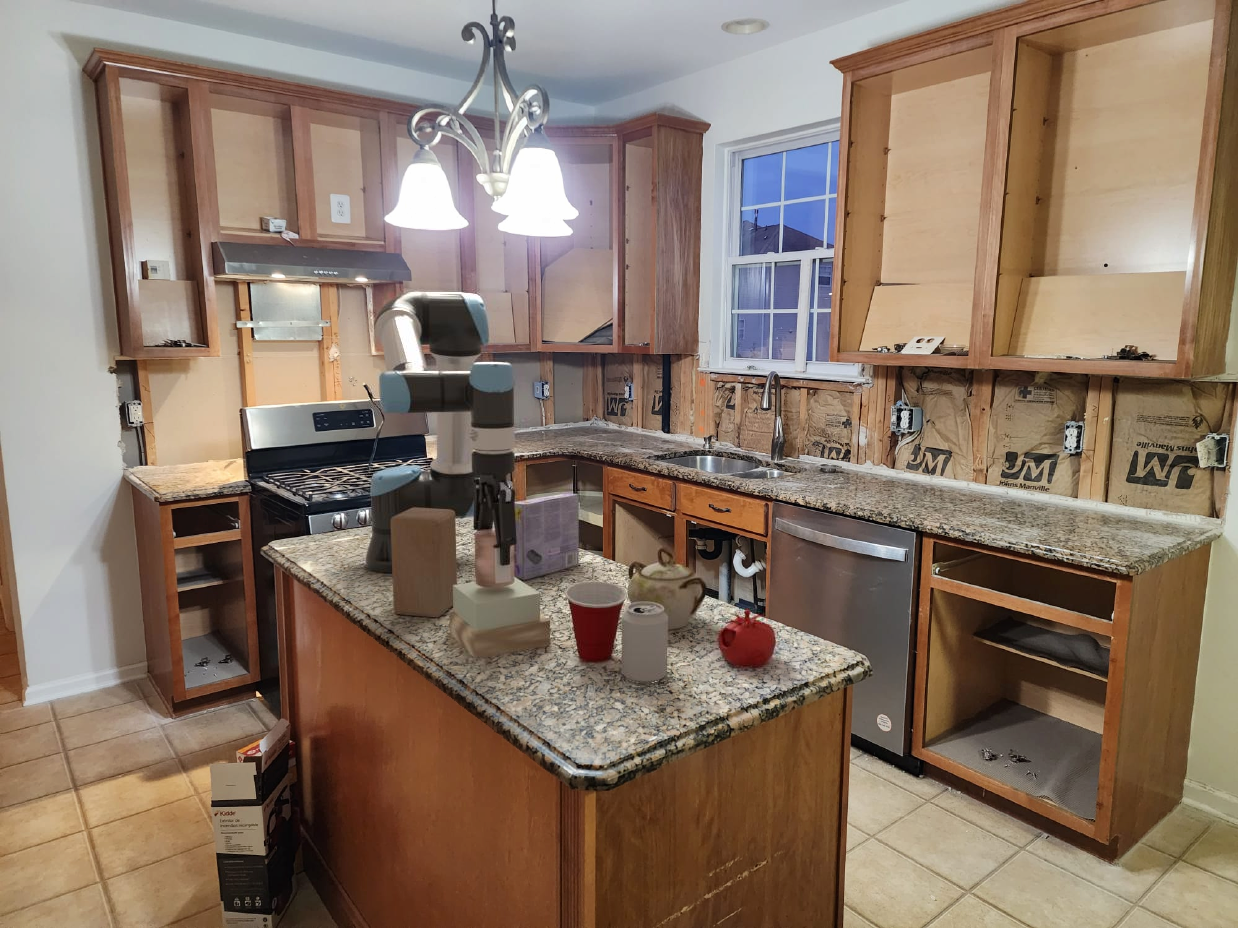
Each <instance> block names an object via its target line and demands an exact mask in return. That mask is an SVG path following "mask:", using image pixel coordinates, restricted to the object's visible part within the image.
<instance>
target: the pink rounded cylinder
mask: <svg viewBox="0 0 1238 928" xmlns="http://www.w3.org/2000/svg"><path fill="white" fill-rule="evenodd" d="M496 544H497V541H496V534H495V528H492V529H484V530H480V531H477V530H476V531H475V532H474V569H475V570H474V574H475V575H474V576H475V577H474V579H475V581H474V582H475V583H476V584H477V585H479V586H482V587H488V588H497V587H505V586H508V585H511V584H513V583H514V581H515V577H514V545H512V546H511V581H509V582H503V583H495V548H494V547H493V545H496Z"/></svg>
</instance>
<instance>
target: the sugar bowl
mask: <svg viewBox="0 0 1238 928" xmlns="http://www.w3.org/2000/svg"><path fill="white" fill-rule="evenodd" d="M662 553H664V554H665V555H667V557H668V559H669V560H663V556H662V555H663V554H662ZM657 558H658V562H655V563H652V564H651V563H650V564H649V565H646V564H645V563H642V562H638V561H633V562H631V563H630V565H629V567H628V572H627V573H628V578H629V582H628V584H627V590H626V592H627V598H628V600H629V602H630V604H631V603H635V602H654V603H658V604H660V605H662V606H663V607H664V612H665V613H666V614H667V616H668V631H670V630H671V631H673V630H679V629H682V628H684V627H686V626H687V625H688V623H689V622H690V620H691V619H692V618H694V616H695V614H696V613H697V611H698V610H699V609H700V607H701V606H702V603H703V602H704V600H705V599H706V596H707V592H708V591H707V589H708V588H707V584H706V583H705V581H704V579H703V578H702V577H699V575H697V574H696V573H695V570H693V569H692V568H691V567H688V566H684V565H682V564H678V563H676V562H675V560H674V555H673V554H672V552H671V551H670V550H669V549H668V548H666V547H661V548H660V549H659V550H658V551H657ZM634 569H635V570H634Z"/></svg>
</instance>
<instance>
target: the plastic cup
mask: <svg viewBox="0 0 1238 928" xmlns="http://www.w3.org/2000/svg"><path fill="white" fill-rule="evenodd" d="M564 595H565V598H566V600H567V602H568V606H569V611H570V615H571V623H572V628H573V635H574V639H575V643H576V651H577V654H578V657H579V659H580V660H582V661H583V662H585V663H586V662H587V663H594V664H595V663H604V662H607V661H608V660H610V659H611V658H612V655H613V652H614V647H615V646H614V645H615V641H616V638H617V633H618V627H619V621H620V617H621V611H622V608H623V605H624V602H625V601H626V599H627V598H628V593H627V590H626V589H625V588H623V587H622V586H620V585H618V584H615V583H613V582H608V581H607V582H606V581H597V580H594V581H590V580H589V581H582V582H577V583H573V584H572V585H570V586H568V587H566V589H565V590H564Z"/></svg>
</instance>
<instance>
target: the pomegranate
mask: <svg viewBox="0 0 1238 928" xmlns="http://www.w3.org/2000/svg"><path fill="white" fill-rule="evenodd" d="M743 613H744V616H740V615H739V614H737V613H730V615H731V616H735V617H736V618H735V619H730V620H728V621H727V622H725V624H727V625H726V626H725V627H723V628H721V630H720V631H719V633H718V636H717V644H718V649H719V650H720V653H721V656H722V657H723V659H724V660H726V662H727V663H729V664H732V665H734V666H736V667H739V668H743V667H749V668H759V667H763V666H765V665H766V664H767V663H768V662H769V661H770V660H771V658H772V657H773V654H774V650H775V649H776V646H777V645H776V644H777V640H776V634H775V630H774V628H773V627H772V626H771V625H770V624H768V623H767V622H766V623H765V622H764V621H760V620H758V618H759V617H761V618H764V616H763V615H761V614H756V615H755V616H753V617H750V614H751V610H750V609H746V610H744V612H743Z"/></svg>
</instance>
